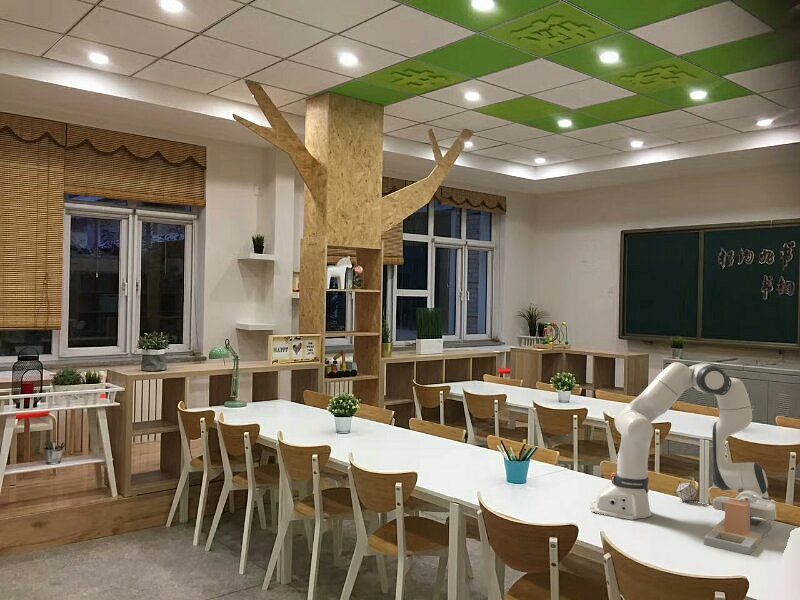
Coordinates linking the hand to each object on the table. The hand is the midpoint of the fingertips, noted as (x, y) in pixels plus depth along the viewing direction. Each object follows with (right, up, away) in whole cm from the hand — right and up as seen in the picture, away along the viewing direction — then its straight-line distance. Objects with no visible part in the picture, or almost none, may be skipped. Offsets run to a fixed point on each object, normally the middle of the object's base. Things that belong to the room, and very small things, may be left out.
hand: (739, 513), depth 236 cm
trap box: (0, -8, 0) cm, 8 cm away
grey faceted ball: (-1, -8, +41) cm, 42 cm away
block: (-2, -5, -3) cm, 6 cm away
